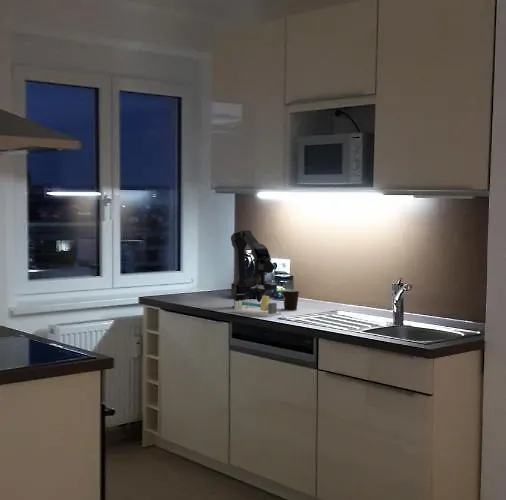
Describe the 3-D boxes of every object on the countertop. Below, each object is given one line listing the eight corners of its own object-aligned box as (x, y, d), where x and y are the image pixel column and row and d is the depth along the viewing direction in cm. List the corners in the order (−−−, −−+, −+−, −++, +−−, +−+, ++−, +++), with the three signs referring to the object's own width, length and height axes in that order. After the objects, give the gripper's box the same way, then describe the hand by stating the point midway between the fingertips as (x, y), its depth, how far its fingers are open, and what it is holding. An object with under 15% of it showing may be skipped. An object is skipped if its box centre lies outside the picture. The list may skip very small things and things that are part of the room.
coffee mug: (297, 311, 416) (297, 291, 415) (281, 310, 418) (281, 291, 417) (300, 307, 427) (300, 289, 426) (284, 307, 429) (284, 288, 428)
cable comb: (232, 311, 411) (232, 301, 410) (246, 309, 419) (247, 299, 419) (267, 316, 396) (267, 305, 395) (281, 314, 404) (281, 303, 404)
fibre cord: (238, 309, 413) (238, 299, 413) (242, 308, 416) (243, 298, 415) (271, 313, 399) (272, 303, 398) (276, 313, 402) (276, 303, 401)
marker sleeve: (260, 310, 403) (260, 296, 403) (265, 309, 406) (265, 295, 406) (265, 311, 401) (265, 296, 401) (270, 310, 404) (270, 295, 404)
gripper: (235, 270, 405) (234, 301, 406) (263, 273, 393) (263, 305, 394) (249, 269, 413) (248, 299, 415) (277, 272, 401) (277, 303, 403)
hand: (258, 301), depth 406 cm, fingers closed
